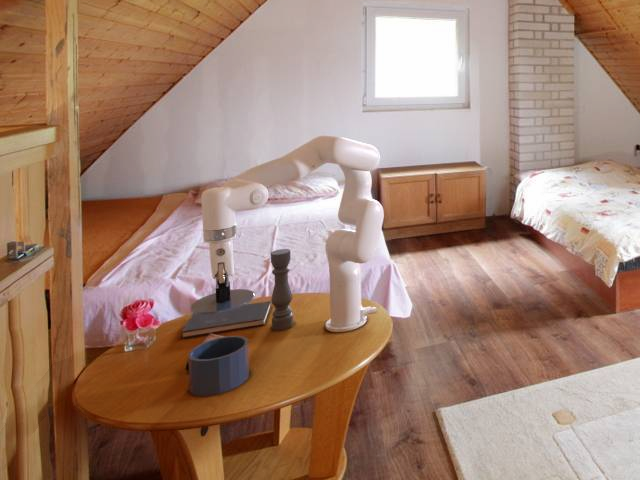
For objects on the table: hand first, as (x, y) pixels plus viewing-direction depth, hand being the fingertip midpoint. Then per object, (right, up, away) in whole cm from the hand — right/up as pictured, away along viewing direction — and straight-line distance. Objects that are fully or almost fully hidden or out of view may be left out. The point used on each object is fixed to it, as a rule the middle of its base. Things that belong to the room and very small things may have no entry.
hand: (223, 298), depth 158 cm
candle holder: (-2, -22, +33) cm, 40 cm away
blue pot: (-1, -23, 0) cm, 23 cm away
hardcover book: (-22, -22, +37) cm, 48 cm away
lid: (0, -1, 0) cm, 1 cm away
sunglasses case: (-12, -23, +14) cm, 30 cm away
